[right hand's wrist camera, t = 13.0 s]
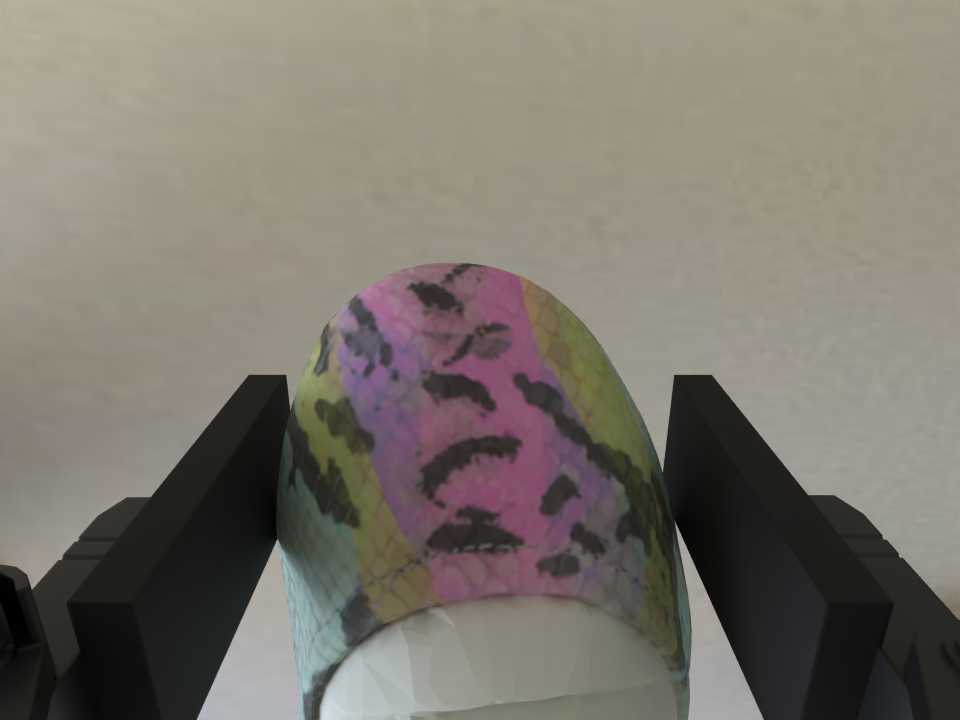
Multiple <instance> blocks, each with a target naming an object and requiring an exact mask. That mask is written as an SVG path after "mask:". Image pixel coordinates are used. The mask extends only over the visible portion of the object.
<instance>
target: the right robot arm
mask: <svg viewBox="0 0 960 720" xmlns="http://www.w3.org/2000/svg"><path fill="white" fill-rule="evenodd" d="M289 416H290V404H289V395H288V387H287V378H286V375H248V377H247V378H246V379H245V380H244V382H243V383H242V384H241V385H240V387H239V388H238V389H237V390H236V392H235V393H234V394H233V395H232V397H231V398H230V399H229V400H228V402H227V403H226V404H225V405H224V407H223V408H222V409H221V410H220V412H219V413H218V414H217V415H216V417H215V418H214V419H213V420H212V422H211V423H210V424H209V425H208V427H207V428H206V429H205V430H204V432H203V433H202V434H201V435H200V437H199V438H198V439H197V440H196V442H195V443H194V444H193V445H192V447H191V448H190V449H189V450H188V452H187V453H186V454H185V455H184V457H183V458H182V459H181V460H180V462H179V463H178V464H177V465H176V466H175V468H174V469H173V470H172V471H171V473H170V474H169V475H168V476H167V478H166V479H165V480H164V481H163V483H162V484H161V485H160V486H159V488H158V489H157V490H156V491H155V493H154V494H153V495H152V496H151V497H127V498H125V499H124V500H122V501H121V502H119V503H117V504H116V505H114V506H113V507H111V508H110V509H108V510H106V511H105V512H103V513H102V514H100V515H99V516H97V517H96V519H95V520H94V521H93V522H92V523H91V524H90V525H89V526H88V528H87V529H86V530H85V531H84V532H83V533H82V534H81V535H80V537H79V541H78V542H74V543H73V544H72V546H71V547H70V548H69V549H68V550H67V551H66V552H65V553H64V555H63V558H62V560H58V561H57V562H56V564H55V565H54V566H53V567H52V568H51V569H50V570H49V571H48V573H47V574H46V575H45V576H44V577H43V578H42V579H41V580H40V582H39V583H38V584H37V585H36V586H35V587H34V588H33V589H31V586H30V583H29V579H28V576H27V574H25V573H24V572H23V571H21V570H20V569H18V568H17V567H14V566H6V565H0V720H197V718H198V715H199V713H200V711H201V709H202V706H203V704H204V702H205V700H206V697H207V695H208V693H209V691H210V689H211V686H212V684H213V682H214V680H215V677H216V675H217V673H218V671H219V668H220V666H221V664H222V662H223V659H224V657H225V655H226V653H227V651H228V648H229V646H230V644H231V642H232V639H233V637H234V635H235V633H236V630H237V628H238V626H239V624H240V621H241V619H242V617H243V615H244V613H245V610H246V608H247V606H248V604H249V601H250V599H251V597H252V595H253V592H254V590H255V588H256V586H257V584H258V581H259V579H260V577H261V575H262V572H263V570H264V568H265V566H266V563H267V561H268V559H269V557H270V554H271V552H272V550H273V548H274V546H275V543H276V541H277V533H276V498H277V488H278V477H279V468H280V461H281V454H282V447H283V440H284V436H285V432H286V428H287V424H288V420H289ZM663 476H664V479H665V482H666V485H667V489H668V493H669V497H670V502H671V507H672V511H673V516H674V520H675V522H676V524H677V527H678V529H679V531H680V533H681V536H682V538H683V540H684V542H685V544H686V547H687V549H688V551H689V553H690V556H691V558H692V560H693V562H694V565H695V567H696V569H697V571H698V573H699V576H700V578H701V580H702V582H703V585H704V587H705V589H706V591H707V594H708V596H709V598H710V600H711V603H712V605H713V607H714V609H715V611H716V614H717V616H718V618H719V620H720V623H721V625H722V627H723V629H724V632H725V634H726V636H727V638H728V641H729V643H730V645H731V647H732V649H733V652H734V654H735V656H736V658H737V661H738V663H739V665H740V667H741V670H742V672H743V674H744V676H745V679H746V681H747V683H748V685H749V687H750V690H751V692H752V694H753V696H754V699H755V701H756V703H757V705H758V708H759V710H760V712H761V714H762V716H763V719H764V720H960V620H958V619H957V618H956V617H955V616H954V614H953V613H952V612H951V611H950V610H949V609H948V608H947V607H946V606H945V604H944V603H943V602H942V601H941V600H940V599H939V598H938V597H937V596H936V594H935V593H934V592H933V591H932V590H931V589H930V588H929V587H928V585H927V584H926V583H925V582H924V581H923V580H922V579H921V578H920V577H919V575H918V574H917V573H916V572H915V571H914V570H913V569H912V568H911V566H910V565H909V564H908V563H907V562H906V561H905V560H904V559H903V558H899V553H898V552H897V551H896V550H895V549H894V548H893V546H892V545H891V544H890V543H889V542H888V541H887V540H883V537H882V536H883V535H882V534H881V533H880V532H879V531H878V530H877V529H876V527H875V526H874V525H873V524H872V523H871V522H870V521H869V520H868V519H867V517H866V516H865V515H864V514H863V513H861V512H860V511H858V510H856V509H855V508H853V507H852V506H850V505H849V504H847V503H845V502H844V501H842V500H841V499H839V498H838V497H836V496H834V495H807V493H806V492H805V491H804V490H803V488H802V487H801V486H800V485H799V483H798V482H797V481H796V480H795V478H794V477H793V476H792V475H791V473H790V472H789V471H788V470H787V468H786V467H785V466H784V465H783V463H782V462H781V461H780V460H779V458H778V457H777V456H776V455H775V453H774V452H773V451H772V450H771V448H770V447H769V446H768V445H767V443H766V442H765V441H764V440H763V438H762V437H761V436H760V435H759V433H758V432H757V431H756V430H755V428H754V427H753V426H752V425H751V423H750V422H749V421H748V420H747V418H746V417H745V416H744V415H743V413H742V412H741V411H740V410H739V408H738V407H737V406H736V405H735V403H734V402H733V401H732V400H731V398H730V397H729V396H728V395H727V393H726V392H725V391H724V390H723V388H722V387H721V386H720V385H719V384H718V382H717V381H716V380H715V379H714V377H713V376H712V375H674V382H673V391H672V400H671V408H670V417H669V425H668V434H667V442H666V451H665V460H664V468H663Z"/></svg>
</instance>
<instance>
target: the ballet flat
mask: <svg viewBox="0 0 960 720" xmlns="http://www.w3.org/2000/svg"><path fill="white" fill-rule="evenodd" d="M276 533H277V540H278V545H279V550H280V557H281V564H282V571H283V578H284V584H285V590H286V596H287V602H288V607H289V613H290V621H291V631H292V636H293V645H294V655H295V663H296V669H297V673H298V677H299V681H300V685H301V709H300V711H301V720H688V713H689V703H690V689H689V668H690V657H691V616H690V607H689V599H688V592H687V587H686V581H685V575H684V570H683V564H682V559H681V554H680V549H679V544H678V538H677V532H676V526H675V521H674V516H673V511H672V507H671V502H670V497H669V493H668V489H667V485H666V482H665V479H664V476H663V472H662V469H661V466H660V462H659V459H658V456H657V453H656V450H655V448H654V445H653V443H652V440H651V437H650V435H649V432H648V430H647V427H646V425H645V422H644V420H643V418H642V416H641V414H640V412H639V411H638V409H637V407H636V405H635V403H634V401H633V400H632V398H631V396H630V394H629V392H628V390H627V389H626V387H625V385H624V383H623V382H622V380H621V378H620V376H619V375H618V373H617V371H616V370H615V368H614V366H613V365H612V363H611V361H610V360H609V358H608V356H607V355H606V353H605V351H604V349H603V348H602V347H601V345H600V344H599V342H598V341H597V340H596V338H595V337H594V336H593V335H592V333H591V332H590V331H589V330H588V328H587V327H586V326H585V324H584V323H583V322H582V321H581V320H580V319H579V318H578V317H577V316H576V315H575V314H574V313H573V312H572V311H571V310H570V309H569V308H568V307H567V306H565V305H564V304H563V303H562V302H560V301H559V300H558V299H557V298H555V297H554V296H553V295H552V294H550V293H549V292H547V291H546V290H544V289H542V288H541V287H539V286H537V285H536V284H534V283H532V282H531V281H529V280H527V279H526V278H523V277H520V276H517V275H514V274H511V273H508V272H506V271H503V270H500V269H496V268H492V267H489V266H484V265H476V264H468V263H436V264H427V265H420V266H416V267H412V268H408V269H404V270H401V271H399V272H396V273H393V274H390V275H388V276H387V277H385V278H383V279H382V280H380V281H378V282H377V283H375V284H373V285H372V286H370V287H368V288H367V289H365V290H363V291H362V292H360V293H358V294H357V295H356V296H355V297H354V298H353V299H352V300H351V301H350V302H348V303H347V304H346V305H345V306H344V307H342V308H341V309H340V310H339V311H338V313H337V314H336V315H335V316H334V317H333V318H332V319H331V320H330V322H329V323H328V324H327V325H326V326H325V328H324V330H323V332H322V334H321V336H320V338H319V340H318V342H317V344H316V345H315V348H314V350H313V352H312V354H311V356H310V358H309V360H308V362H307V365H306V368H305V371H304V373H303V376H302V379H301V382H300V385H299V387H298V390H297V393H296V396H295V399H294V401H293V404H292V407H291V412H290V416H289V420H288V424H287V428H286V432H285V436H284V440H283V447H282V454H281V461H280V468H279V477H278V488H277V498H276Z"/></svg>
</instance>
